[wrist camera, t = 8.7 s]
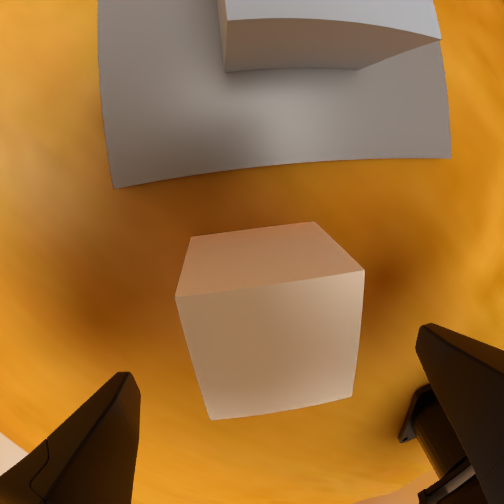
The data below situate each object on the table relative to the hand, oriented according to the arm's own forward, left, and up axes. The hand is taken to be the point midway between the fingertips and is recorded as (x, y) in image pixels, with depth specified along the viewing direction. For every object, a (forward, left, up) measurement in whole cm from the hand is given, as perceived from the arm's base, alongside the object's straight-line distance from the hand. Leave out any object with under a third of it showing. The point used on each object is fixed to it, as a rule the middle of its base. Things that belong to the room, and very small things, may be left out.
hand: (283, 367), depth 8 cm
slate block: (+11, -2, -4) cm, 12 cm away
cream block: (0, 0, -5) cm, 5 cm away
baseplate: (+11, -2, -5) cm, 12 cm away
